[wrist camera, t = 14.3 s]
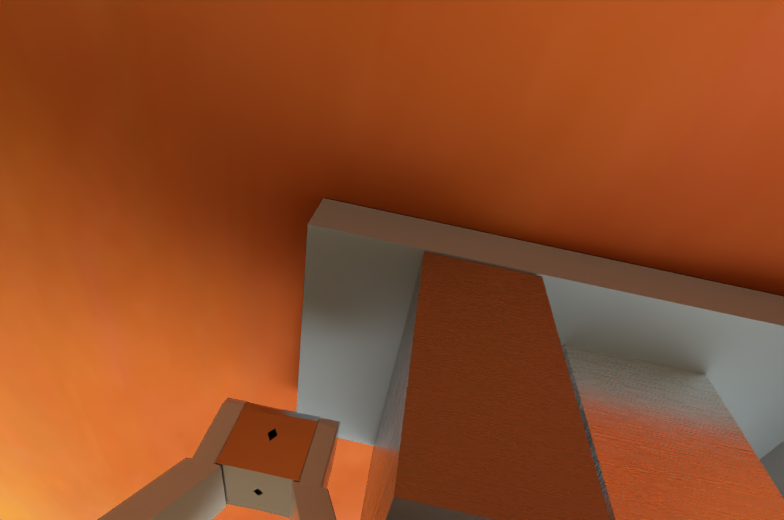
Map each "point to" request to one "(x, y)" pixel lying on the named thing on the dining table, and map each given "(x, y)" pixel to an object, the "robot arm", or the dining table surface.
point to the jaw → (481, 407)
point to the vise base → (569, 308)
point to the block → (666, 443)
